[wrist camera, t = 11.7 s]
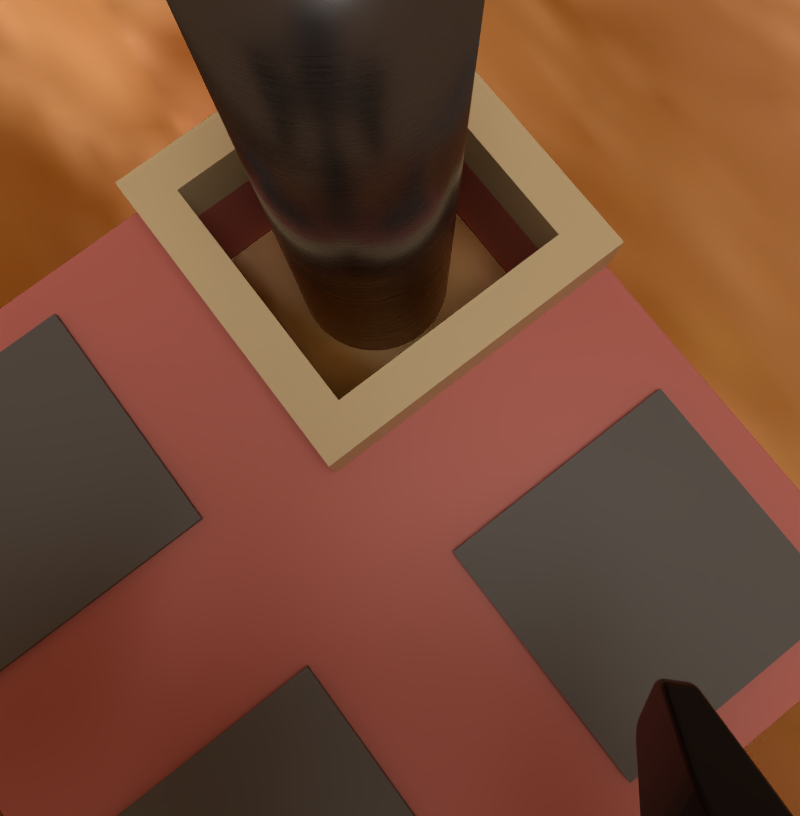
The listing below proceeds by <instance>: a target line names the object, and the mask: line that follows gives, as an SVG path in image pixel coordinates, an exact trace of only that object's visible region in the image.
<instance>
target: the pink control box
mask: <svg viewBox="0 0 800 816" xmlns="http://www.w3.org/2000/svg"><path fill="white" fill-rule="evenodd" d="M115 183H116V185H117V186H118V187H119V189H120V190H121V191H122V193H123V194H124V195H125V197H126V198H127V199H128V201H129V202H130V203H131V205H132V206H133V207H134V209H135V210H136V211H137V213H135V214H134V215H132V216H131V217H130V218H128V219H127V220H125V221H124V222H123V223H121V224H120V225H118V226H117V227H115V228H114V229H113V230H111V231H110V232H108V233H107V234H106V235H104V236H103V237H101V238H100V239H98V240H97V241H96V242H94V243H93V244H91V245H90V246H89V247H87V248H86V249H84V250H83V251H81V252H80V253H79V254H77V255H76V256H74V257H73V258H72V259H70V260H69V261H67V262H66V263H64V264H63V265H62V266H60V267H59V268H57V269H56V270H55V271H53V272H52V273H50V274H49V275H47V276H46V277H45V278H43V279H42V280H40V281H39V282H38V283H36V284H35V285H33V286H32V287H30V288H29V289H28V290H26V291H25V292H23V293H22V294H21V295H19V296H18V297H16V298H15V299H13V300H12V301H11V302H9V303H8V304H6V305H5V306H4V307H2V308H1V309H0V811H1V812H2V814H3V815H4V816H640V802H639V785H638V769H637V752H636V727H637V722H638V718H639V716H640V714H641V711H642V709H643V707H644V705H645V702H646V700H647V698H648V696H649V694H650V691H651V689H652V687H653V685H654V683H655V682H656V681H657V680H659V679H663V678H664V679H672V680H679V681H687V682H690V683H693V684H694V685H696V686H697V687H698V688H699V689H700V690H701V692H702V693H703V694H704V696H705V697H706V698H707V700H708V701H709V702H710V704H711V705H712V707H713V708H714V709H715V711H716V712H717V713H718V715H719V716H720V717H721V719H722V720H723V721H724V723H725V724H726V725H727V727H728V728H729V729H730V731H731V732H732V734H733V735H734V736H735V738H736V739H737V740H738V742H739V743H740V744H741V746H742V747H743V748H744V747H746V746H747V745H748V744H749V743H750V742H751V741H753V740H754V739H755V738H756V737H757V736H758V735H760V734H761V733H762V732H763V731H764V730H765V729H767V728H768V727H769V726H770V725H771V724H773V723H774V722H775V721H776V720H777V719H778V718H780V717H781V716H782V715H783V714H784V713H785V712H787V711H788V710H789V709H790V708H791V707H792V706H794V705H795V704H796V703H797V702H798V701H800V491H799V490H798V488H797V487H796V486H795V485H794V484H793V483H792V481H791V480H790V479H789V478H788V477H787V476H786V474H785V473H784V472H783V471H782V470H781V469H780V467H779V466H778V465H777V464H776V463H775V462H774V460H773V459H772V458H771V457H770V456H769V455H768V453H767V452H766V451H765V450H764V449H763V448H762V446H761V445H760V444H759V443H758V442H757V441H756V439H755V438H754V437H753V436H752V435H751V434H750V433H749V431H748V430H747V429H746V428H745V427H744V426H743V424H742V423H741V422H740V421H739V420H738V419H737V417H736V416H735V415H734V414H733V413H732V412H731V410H730V409H729V408H728V407H727V406H726V405H725V403H724V402H723V401H722V400H721V399H720V398H719V396H718V395H717V394H716V393H715V392H714V391H713V389H712V388H711V387H710V386H709V385H708V384H707V382H706V381H705V380H704V379H703V378H702V377H701V375H700V374H699V373H698V372H697V371H696V370H695V368H694V367H693V366H692V365H691V364H690V363H689V361H688V360H687V359H686V358H685V357H684V356H683V354H682V353H681V352H680V351H679V350H678V349H677V348H676V346H675V345H674V344H673V343H672V342H671V341H670V339H669V338H668V337H667V336H666V335H665V334H664V332H663V331H662V330H661V329H660V328H659V327H658V325H657V324H656V323H655V322H654V321H653V320H652V318H651V317H650V316H649V315H648V314H647V313H646V311H645V310H644V309H643V308H642V307H641V306H640V304H639V303H638V302H637V301H636V300H635V299H634V297H633V296H632V295H631V294H630V293H629V292H628V290H627V289H626V288H625V287H624V286H623V285H622V283H621V282H620V281H619V280H618V279H617V278H616V276H615V275H614V274H613V273H612V272H611V271H610V269H609V268H608V267H607V265H608V263H609V262H610V261H611V259H612V258H613V256H614V255H615V254H616V252H617V251H618V250H619V248H620V247H621V245H622V244H623V243H624V242H623V240H622V239H621V238H620V237H619V236H618V235H617V234H616V232H615V231H614V230H613V229H612V228H611V227H610V225H609V224H608V223H607V222H606V221H605V220H604V219H603V217H602V216H601V215H600V214H599V213H598V212H597V210H596V209H595V208H594V207H593V206H592V205H591V204H590V202H589V201H588V200H587V199H586V198H585V197H584V196H583V194H582V193H581V192H580V191H579V190H578V189H577V187H576V186H575V185H574V184H573V183H572V182H571V181H570V179H569V178H568V177H567V176H566V175H565V174H564V172H563V171H562V170H561V169H560V168H559V167H558V166H557V164H556V163H555V162H554V161H553V160H552V159H551V157H550V156H549V155H548V154H547V153H546V152H545V151H544V149H543V148H542V147H541V146H540V145H539V144H538V143H537V141H536V140H535V139H534V138H533V137H532V136H531V134H530V133H529V132H528V131H527V130H526V129H525V128H524V126H523V125H522V124H521V123H520V122H519V121H518V119H517V118H516V117H515V116H514V115H513V114H512V113H511V111H510V110H509V109H508V108H507V107H506V106H505V105H504V103H503V102H502V101H501V100H500V99H499V98H498V96H497V95H496V94H495V93H494V92H493V91H492V90H491V88H490V87H489V86H488V85H487V84H486V83H485V81H484V80H483V79H482V78H481V77H480V76H479V75H478V73H477V72H476V71H475V76H474V84H473V91H472V99H471V107H470V114H469V122H468V129H467V137H466V144H465V152H464V160H463V167H462V175H461V182H460V190H459V197H458V205H457V213H458V214H459V216H460V217H461V218H462V219H463V220H464V222H465V223H466V224H467V225H468V226H469V228H470V229H471V230H472V231H473V232H474V234H475V235H476V236H477V237H478V238H479V240H480V241H481V242H482V243H483V244H484V246H485V247H486V248H487V249H488V250H489V252H490V253H491V254H492V255H493V256H494V258H495V259H496V260H497V261H498V262H499V264H500V265H501V266H502V267H503V268H504V270H505V271H506V272H507V274H506V275H504V276H503V277H502V278H500V279H499V280H498V281H496V282H495V283H494V284H492V285H491V286H490V287H488V288H487V289H486V290H484V291H483V292H482V293H480V294H479V295H478V296H476V297H475V298H474V299H472V300H471V301H470V302H468V303H467V304H466V305H464V306H463V307H462V308H460V309H459V310H458V311H456V312H455V313H454V314H453V315H451V316H450V317H449V318H447V319H446V320H445V321H443V322H442V323H441V324H439V325H438V326H437V327H435V328H434V329H433V330H431V331H430V332H429V333H427V334H426V335H425V336H423V337H422V338H421V339H419V340H418V341H417V342H415V343H414V344H413V345H411V346H410V347H409V348H407V349H406V350H405V351H403V352H402V353H401V354H399V355H398V356H397V357H395V358H394V359H393V360H391V361H390V362H389V363H387V364H386V365H385V366H383V367H382V368H381V369H379V370H378V371H377V372H375V373H374V374H373V375H372V376H370V377H369V378H368V379H366V380H365V381H364V382H362V383H361V384H360V385H358V386H357V387H356V388H354V389H353V390H352V391H350V392H349V393H348V394H346V395H345V396H344V397H342V398H341V399H340V400H338V399H337V398H336V396H335V395H334V394H333V392H332V391H331V390H330V388H329V387H328V386H327V385H326V383H325V382H324V381H323V379H322V378H321V377H320V375H319V374H318V373H317V372H316V370H315V369H314V368H313V366H312V365H311V364H310V362H309V361H308V360H307V359H306V357H305V356H304V355H303V353H302V352H301V351H300V349H299V348H298V347H297V345H296V344H295V343H294V342H293V340H292V339H291V338H290V336H289V335H288V334H287V332H286V331H285V330H284V329H283V327H282V326H281V325H280V323H279V322H278V321H277V319H276V318H275V317H274V316H273V314H272V313H271V312H270V310H269V309H268V308H267V306H266V305H265V304H264V302H263V301H262V300H261V299H260V297H259V296H258V295H257V293H256V292H255V291H254V289H253V288H252V287H251V286H250V284H249V283H248V282H247V280H246V279H245V278H244V276H243V275H242V274H241V273H240V271H239V270H238V269H237V267H236V266H235V265H234V263H233V262H232V261H231V258H232V257H233V256H235V255H236V254H238V253H239V252H240V251H242V250H243V249H245V248H246V247H247V246H249V245H250V244H252V243H253V242H254V241H256V240H257V239H258V238H260V237H261V236H263V235H264V234H265V233H267V232H268V231H270V230H271V229H272V227H271V225H270V223H269V221H268V219H267V217H266V215H265V212H264V210H263V208H262V206H261V204H260V202H259V199H258V197H257V195H256V193H255V191H254V189H253V186H252V184H251V182H250V180H249V178H248V176H247V173H246V171H245V169H244V167H243V165H242V163H241V160H240V158H239V156H238V154H237V152H236V150H235V148H234V145H233V143H232V141H231V139H230V137H229V135H228V132H227V130H226V128H225V126H224V124H223V122H222V119H221V117H220V115H219V113H218V111H217V112H215V113H214V114H212V115H211V116H210V117H208V118H207V119H205V120H204V121H202V122H201V123H200V124H198V125H197V126H195V127H194V128H192V129H191V130H190V131H188V132H187V133H185V134H184V135H182V136H181V137H180V138H178V139H177V140H175V141H174V142H172V143H171V144H170V145H168V146H167V147H165V148H164V149H162V150H161V151H160V152H158V153H157V154H155V155H154V156H152V157H151V158H150V159H148V160H147V161H145V162H144V163H142V164H141V165H140V166H138V167H137V168H135V169H134V170H132V171H131V172H130V173H128V174H127V175H125V176H124V177H122V178H121V179H120V180H118V181H117V182H115Z"/></svg>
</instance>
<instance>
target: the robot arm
mask: <svg viewBox="0 0 800 816" xmlns="http://www.w3.org/2000/svg"><path fill="white" fill-rule="evenodd" d="M636 752H637V769H638V785H639V802H640V816H793V815H792V813H791V812H790V811H789V809H788V808H787V807H786V805H785V804H784V802H783V801H782V800H781V798H780V797H779V796H778V794H777V793H776V792H775V790H774V789H773V788H772V786H771V785H770V784H769V782H768V781H767V779H766V778H765V777H764V775H763V774H762V773H761V771H760V770H759V769H758V767H757V766H756V765H755V763H754V762H753V761H752V759H751V758H750V757H749V755H748V754H747V752H746V751H745V750H744V748H743V747H742V746H741V744H740V743H739V742H738V740H737V739H736V738H735V736H734V735H733V734H732V732H731V731H730V729H729V728H728V727H727V725H726V724H725V723H724V721H723V720H722V719H721V717H720V716H719V715H718V713H717V712H716V711H715V709H714V708H713V707H712V705H711V704H710V702H709V701H708V700H707V698H706V697H705V696H704V694H703V693H702V692H701V690H700V689H699V688H698V687H697V686H696V685H694V684H693V683H690V682H687V681H679V680H672V679H664V678H663V679H659V680H657V681H656V682H655V683H654V685H653V687H652V689H651V691H650V694H649V696H648V698H647V700H646V702H645V705H644V707H643V709H642V711H641V714H640V716H639V718H638V722H637V727H636Z"/></svg>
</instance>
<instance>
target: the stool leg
mask: <svg viewBox="0 0 800 816" xmlns="http://www.w3.org/2000/svg"><path fill="white" fill-rule="evenodd" d="M166 1H167V3H168V5H169V7H170V9H171V11H172V14H173V16H174V18H175V20H176V22H177V24H178V27H179V29H180V31H181V33H182V35H183V37H184V39H185V42H186V44H187V46H188V48H189V50H190V52H191V55H192V57H193V59H194V61H195V63H196V65H197V68H198V70H199V72H200V74H201V76H202V78H203V81H204V83H205V85H206V87H207V89H208V91H209V94H210V96H211V98H212V100H213V102H214V104H215V106H216V109H217V111H218V113H219V115H220V117H221V119H222V122H223V124H224V126H225V128H226V130H227V132H228V135H229V137H230V139H231V141H232V143H233V145H234V148H235V150H236V152H237V154H238V156H239V158H240V160H241V163H242V165H243V167H244V169H245V171H246V173H247V176H248V178H249V180H250V182H251V184H252V186H253V189H254V191H255V193H256V195H257V197H258V199H259V202H260V204H261V206H262V208H263V210H264V212H265V215H266V217H267V219H268V221H269V223H270V225H271V227H272V230H273V232H274V234H275V236H276V238H277V240H278V243H279V245H280V247H281V249H282V251H283V253H284V256H285V258H286V260H287V262H288V264H289V266H290V269H291V271H292V273H293V275H294V277H295V279H296V282H297V284H298V286H299V288H300V290H301V292H302V294H303V297H304V299H305V301H306V303H307V305H308V307H309V310H310V312H311V313H312V315H313V317H314V319H315V320H316V321H317V323H318V324H319V325H320V326H321V327H322V328H323V329H324V330H325V331H326V332H327V333H328V334H329V335H330V336H332V337H333V338H334V339H336V340H338V341H340V342H342V343H344V344H346V345H349V346H351V347H355V348H359V349H365V350H384V349H390V348H394V347H398V346H400V345H403V344H405V343H408V342H409V341H411V340H413V339H415V338H416V337H417V336H419V335H420V334H422V333H423V332H424V331H425V330H426V329H427V328H428V327H429V326H430V325H431V323H432V322H433V321H434V320H435V318H436V316H437V315H438V313H439V311H440V309H441V307H442V305H443V302H444V298H445V295H446V288H447V281H448V273H449V266H450V258H451V250H452V243H453V235H454V228H455V220H456V213H457V205H458V197H459V190H460V182H461V175H462V167H463V160H464V152H465V144H466V137H467V129H468V122H469V114H470V107H471V99H472V91H473V84H474V76H475V69H476V61H477V54H478V46H479V39H480V31H481V23H482V16H483V8H484V1H485V0H166Z"/></svg>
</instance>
